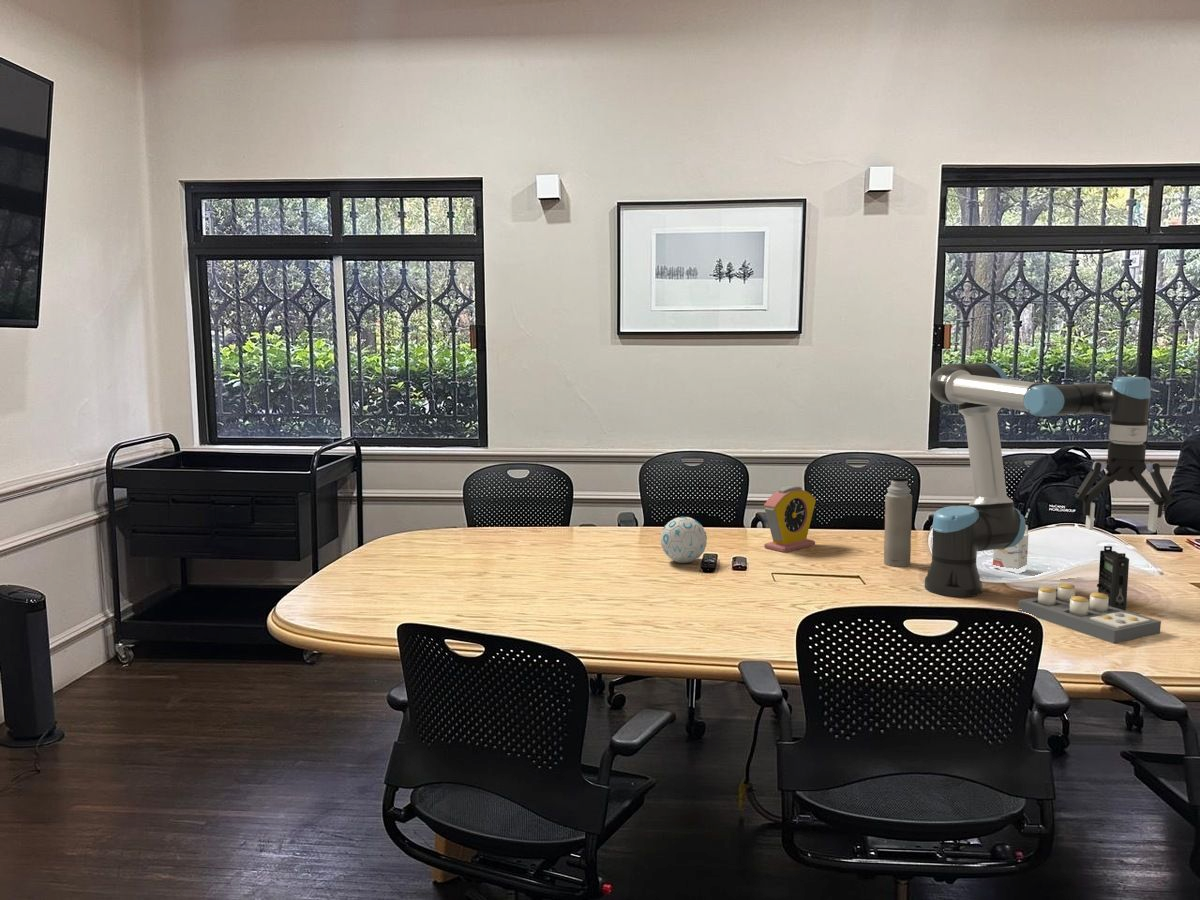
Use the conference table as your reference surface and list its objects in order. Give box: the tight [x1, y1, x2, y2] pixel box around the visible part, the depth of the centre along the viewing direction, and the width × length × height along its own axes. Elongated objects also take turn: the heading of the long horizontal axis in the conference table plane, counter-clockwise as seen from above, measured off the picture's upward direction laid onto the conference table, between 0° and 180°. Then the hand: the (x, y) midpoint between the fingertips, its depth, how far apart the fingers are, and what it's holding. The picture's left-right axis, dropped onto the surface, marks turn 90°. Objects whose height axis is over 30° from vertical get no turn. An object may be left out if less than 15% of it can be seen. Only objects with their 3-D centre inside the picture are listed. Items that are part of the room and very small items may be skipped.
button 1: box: [1037, 586, 1057, 607], centre depth 210 cm, size 4×4×4 cm
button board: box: [1018, 593, 1162, 644], centre depth 204 cm, size 26×16×4 cm, turn 22°
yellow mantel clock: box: [763, 485, 817, 553], centre depth 286 cm, size 22×9×22 cm, turn 127°
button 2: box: [1056, 582, 1076, 603], centre depth 213 cm, size 4×4×4 cm
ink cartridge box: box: [992, 524, 1029, 569], centre depth 252 cm, size 9×5×15 cm, turn 32°
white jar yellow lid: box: [1069, 595, 1089, 617], centre depth 202 cm, size 4×4×4 cm
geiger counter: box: [1096, 545, 1130, 611], centre depth 217 cm, size 10×4×15 cm, turn 170°
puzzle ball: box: [660, 516, 708, 564], centre depth 268 cm, size 15×15×15 cm
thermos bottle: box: [883, 476, 913, 568], centre depth 261 cm, size 8×8×28 cm
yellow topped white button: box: [1089, 591, 1109, 613], centre depth 205 cm, size 4×4×4 cm
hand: (1120, 529), depth 197 cm, fingers open, 13 cm apart
